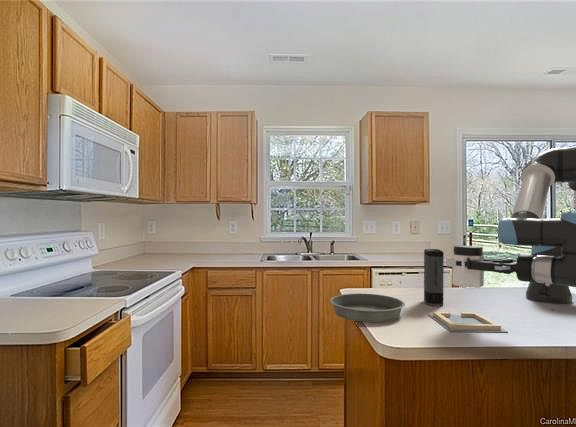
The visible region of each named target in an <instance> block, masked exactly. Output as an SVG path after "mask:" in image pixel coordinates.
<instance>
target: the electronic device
mask: <svg viewBox="0 0 576 427" xmlns="http://www.w3.org/2000/svg"><path fill="white" fill-rule="evenodd" d="M423 252H424V253H423V269H424V270H423V272H424V273H423V300H424V302H425V304H426V305H427V306H431V305H432V307H433V306H436V307H441V306H443V305H444V269H445V268H444V262H445V260H444V253H445V252H444V251H443V250H441V249H437V248H425V249H424V251H423Z"/></svg>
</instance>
